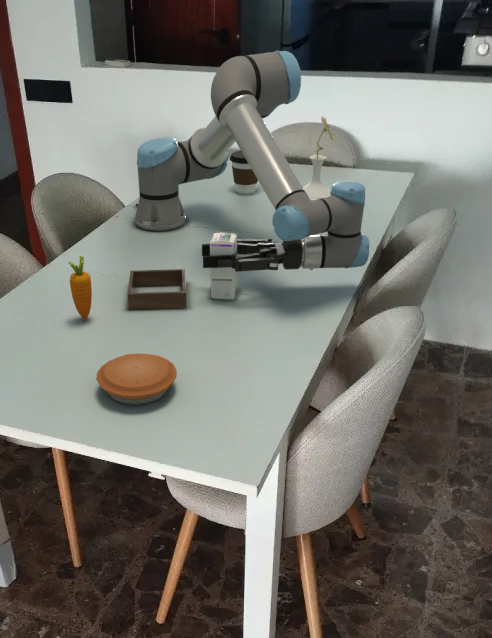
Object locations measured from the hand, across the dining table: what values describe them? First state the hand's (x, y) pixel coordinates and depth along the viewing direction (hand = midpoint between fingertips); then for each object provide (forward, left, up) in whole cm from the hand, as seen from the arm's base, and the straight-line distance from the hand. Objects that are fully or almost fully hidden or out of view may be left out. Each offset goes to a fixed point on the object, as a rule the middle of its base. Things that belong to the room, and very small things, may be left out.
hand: (202, 256), depth 165 cm
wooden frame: (-6, -9, -10) cm, 15 cm away
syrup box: (+3, +4, -10) cm, 11 cm away
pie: (+28, -33, -10) cm, 45 cm away
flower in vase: (-38, +67, -10) cm, 77 cm away
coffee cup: (-59, +55, -10) cm, 81 cm away
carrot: (-5, -29, -10) cm, 32 cm away
